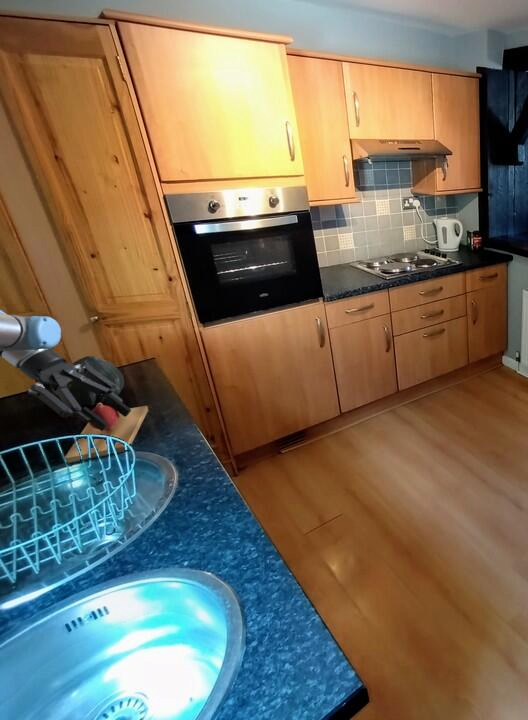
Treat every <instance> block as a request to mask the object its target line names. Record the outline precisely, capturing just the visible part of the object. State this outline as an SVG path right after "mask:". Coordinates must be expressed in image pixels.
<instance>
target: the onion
mask: <svg viewBox="0 0 528 720" xmlns="http://www.w3.org/2000/svg"><path fill="white" fill-rule="evenodd" d="M95 405H96V406H95V407H94V408H92V409H91V411H92V412H94V413H95V414H96V415H98V416H99V417H100V418H102V419H103V420H104V421H106V422H107V423H108V426H107V427H106V428H105V430H110V429H112V427H113V426H114V425H115V424H116V423H117V422H118V420H119V414H118V412H117V411H116V409H114V408H112V407H111V406H110V405H105V404H103V402H102V403H96V404H95ZM89 424H90V425H91V426H92V427H93V428H95V429H98V428H97V427H95V426H94V425H93V424H91V423H90V422H89Z"/></svg>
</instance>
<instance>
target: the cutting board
mask: <svg viewBox="0 0 528 720" xmlns="http://www.w3.org/2000/svg"><path fill="white" fill-rule="evenodd" d="M130 409H131V411H130V413H129V414H128V415H127V416H126V417H124V416H123V415H122V414H120V413H119V412H118V411H117V412H118V414H119V420H118V422H117V423H116V424H115V425H114V426H113V427H112V429H110V430H103V431H101V430H99V429H95V428H93V427H92V426H91V425H90V424H89V423H86V426H85V427H84V428H83V430H82V431H81V433H80V434H79V436H80V435H81V434H103V435H110V436H114V437H117V438H120V439H122V440H124V441H126V442H127V443H128V444H131V445H133V442H134V440H135V438H136V437H137V434H138V432H139V430H140V428H141V426H142V424H143V422H144V420H145V418H146V416H147V414H148V412H149V408H148V405H143V406H137V407H132V408H131V407H130ZM77 439H78V438H77ZM78 443H79V447H80V449H81V456H82V459H83V460H82V461H85V460H89V459H88V441H87V439H85V438H81V439H78ZM94 446H95V447H96V448H97V449H98V452H99V455H100V457H106V456H108V455H107V451H108V449H107V444H106V440H104V439H94ZM115 448H116V450H117V451H118V453H117V454H119V453H124V450H125V448H124V445H123V444H121V443H119V442H116V443H115ZM64 458H66V460H67V462H68V463H67V464H72V463H76V462H81V461H80V459H81V458H80V455H79V452H78V450H77V447H76V444H75V442H74V443H73V444H72V446H71V447H70V449H69V450H68V452H67V453H66V455H65V456H64ZM96 458H98V457H97V455H96V451H95V449H94V448H91V459H96Z"/></svg>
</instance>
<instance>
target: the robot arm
mask: <svg viewBox="0 0 528 720" xmlns="http://www.w3.org/2000/svg"><path fill="white" fill-rule="evenodd" d="M61 334H62V329H61V326H60V324H59V323H58V321H57V320H55V319H54V318H52V317H50V316H47V315H45V316H41V315H40V316H39V315H31V316H24V315H23V316H22V315H15V314H7V313H6V312H5V311H3V310H2V309H0V357H1V358H3V359H4V360H5V361H7V362H8V363H9V364H10V365H12V366H13V367H15V368H16V369H19V371H20V372H21V373H22V374H24V375H25V376H27V377H28V378H29V379H31V380H33V381H35V384H32V385H31V386H30V387H29V389H28V391H27V394H29V395H31V396H33V397H36V398H38V399H39V400H41V401H42V403H44V404H45V405H46V406H47V407H49V408H50V409H51V410H53V411H54V412H55V413H56V414H57V415H59V416H60V417H61V418H64V419H66V418H68V417H72V418H76V417H77V418H78V419H79V420H81V422H83V423H86V424H88V423H89V422H90V423H91V424H93V425H94V426H95V427H97V428H98V429H99V430H101V431H103V430H105V428H106V427H107V426H108V423H107V422H106V421H104V420H103V419H102V418H100V417H99V416H98V415H96V414H95V413H94V412H92V409H89V408H88V406H85V407H82V408H81V407H80V405H79V404H78V403H77V401H76V400H75V398H74V397H73V396H72V394H71V393H70V391H69V390H68V389H67V386H68V385H71V384H72V385H74V386H79V387H82V388H84V389H86V390H88V391H91V392H93V393H95V394H98V395H100V396H102V397H104V398H105V399H104V403H106V404H107V406H110V407H112V408H114V409H116V411H118V412H119V413H120V414H122V415H123V416H124V417H126V416H127V415H128V414H129V413H130V411H131V407H129V406H127V405H126V404H125V403H124V402H123V401H124V400H123V398H122V397H120V396H119V395H118V396H117V395H116V394H114V392H113V391H114V390H115V388H116V387H117V385H116V384H114V383H113V382H111V381H110V380H108V379H107V378H106V377H104V376H103V375H101V374H100V373H99V372H97V371H96V370H94V369H93V368H92V367H91V366H90V364H89V363H88V362H83V363H82V364H80V365H73V364H72V363H70V362H68V361H67V360H66V359H65V357H64V356H62V355H61V354H59V352H57V351H55V350H54V349H52V348H54V347H56V346H57V345H58V344H59V342H60V341H61V338H62V335H61ZM77 371H79V373H83V374H84V375H85V376H86V377H87V378H89V379H90V380H89V379H87V378H85V377H84V376H83V375H81V374H79V373H77ZM76 379H77V381H76ZM91 380H92V381H91ZM47 388H49V389H51V391H52V390H53V391H54V392H55V394H56V395H58V396H59V397H60V399H61V400H62V402H61V401H60V400H59V399H58V398H56V397H55V396H54V395H53V392H50V390H48V389H47Z"/></svg>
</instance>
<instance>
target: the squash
mask: <svg viewBox="0 0 528 720" xmlns="http://www.w3.org/2000/svg"><path fill="white" fill-rule="evenodd" d="M83 362H88V363H89V364H90V366H91V367H92V368H93V369H94V370H96V371H97V372H99V373H100V374H101V375H103V376H104V377H106V378H107V379H108V380H110V381H111V382H113V383H114V384H116V385H117V387H116V388H115V390H114V391H113V392H114V394H116V395H117V396H118V397H119V394H120V393H121V391H122V390H123V388H124V385H125V379H124V376H123V374H122V372H121V371H120V370H119V369H118V368H117V367H116V366H115V364H113V363H112V362H110V361H107V360H105V359H103V358H100V357H97V356H94V355H87V356H84V357H81V358H79V359H77V360H75V361H73V362H72V363H71V364H73V365H80V364H82V363H83ZM77 373H79V371H77ZM79 374H81V375H83V376H84V377H85V378H87V377H86V376H85V375H84V374H83V373H79ZM87 379H89V378H87ZM89 380H90V379H89ZM76 381H77V379H76ZM91 381H92V380H91ZM67 389H68V390H69V391H70V393H71V394H72V396H73V397H74V398H75V400H76V401H77V403H78V404H79V405H80V407H81V409H83V408H85V407H92V406H94V405H96V404H98V403H102V404H103V403H105V401H104V399H105V398H104V397H102V396H100V395H98V394H95V393H93V392H91V391H88V390H86V389H84V388H82V387H79V386H74V385H72V384H71V385H68V386H67ZM51 391H52V392H51V393H52V394H53V395H54V396H55V397H56V398H58V399H59V400H60V401H61V402H62V400H61V399H60V397H59V396H58V395H56V394H55V392H54V391H53V390H52V389H51Z"/></svg>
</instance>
